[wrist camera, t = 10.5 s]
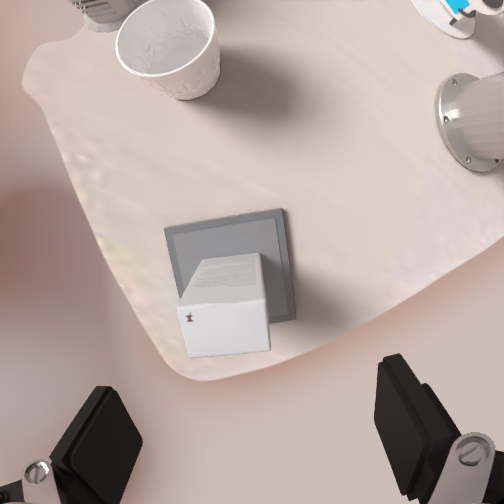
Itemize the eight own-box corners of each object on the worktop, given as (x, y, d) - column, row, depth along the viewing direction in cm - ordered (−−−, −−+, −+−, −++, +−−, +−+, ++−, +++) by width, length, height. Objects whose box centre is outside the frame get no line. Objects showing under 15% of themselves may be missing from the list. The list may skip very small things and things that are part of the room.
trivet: (280, 207, 31) (281, 208, 30) (295, 316, 33) (296, 319, 33) (165, 227, 31) (163, 228, 30) (190, 330, 34) (188, 333, 33)
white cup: (185, 120, 29) (155, 97, 19) (139, 75, 27) (98, 43, 18) (242, 70, 27) (237, 27, 18) (193, 28, 26) (172, -20, 16)
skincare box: (208, 297, 32) (186, 359, 20) (201, 258, 31) (172, 305, 19) (266, 291, 32) (272, 353, 20) (261, 251, 31) (266, 296, 19)
